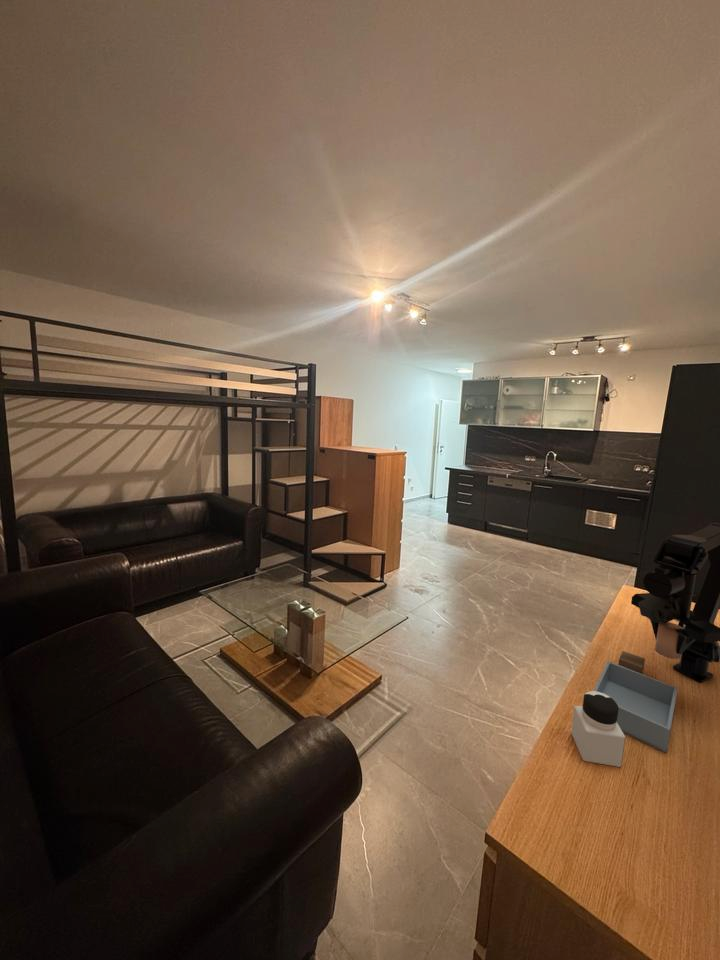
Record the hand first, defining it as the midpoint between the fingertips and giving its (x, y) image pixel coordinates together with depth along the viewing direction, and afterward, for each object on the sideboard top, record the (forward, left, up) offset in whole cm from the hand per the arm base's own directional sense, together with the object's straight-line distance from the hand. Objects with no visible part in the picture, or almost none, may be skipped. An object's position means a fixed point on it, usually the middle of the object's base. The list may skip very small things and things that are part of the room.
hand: (668, 647), depth 94 cm
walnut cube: (+1, -7, -12) cm, 14 cm away
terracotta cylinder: (0, 0, -2) cm, 2 cm away
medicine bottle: (+32, +5, -13) cm, 35 cm away
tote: (+14, +1, -12) cm, 19 cm away
